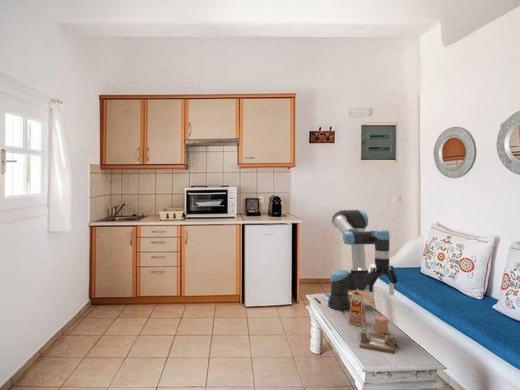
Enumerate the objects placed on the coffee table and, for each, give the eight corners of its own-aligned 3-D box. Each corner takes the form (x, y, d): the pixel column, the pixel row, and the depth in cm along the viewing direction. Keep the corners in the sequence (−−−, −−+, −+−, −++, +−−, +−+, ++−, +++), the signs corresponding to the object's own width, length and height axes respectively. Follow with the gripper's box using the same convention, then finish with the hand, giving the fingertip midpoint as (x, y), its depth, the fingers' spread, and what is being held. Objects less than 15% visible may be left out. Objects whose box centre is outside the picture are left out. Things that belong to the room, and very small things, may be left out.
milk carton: (364, 326, 194) (364, 291, 193) (347, 323, 198) (347, 289, 197) (366, 320, 202) (366, 287, 201) (350, 317, 206) (350, 285, 205)
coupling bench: (362, 334, 183) (362, 323, 183) (394, 339, 177) (394, 328, 177) (359, 347, 168) (359, 335, 168) (393, 353, 162) (394, 341, 162)
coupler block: (374, 330, 188) (374, 317, 188) (381, 328, 190) (381, 316, 190) (380, 333, 184) (381, 321, 183) (388, 332, 186) (388, 319, 185)
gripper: (368, 260, 177) (368, 301, 178) (404, 257, 187) (404, 295, 187) (359, 258, 184) (359, 296, 185) (394, 255, 194) (394, 291, 194)
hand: (382, 296), depth 186 cm, fingers open, 13 cm apart
